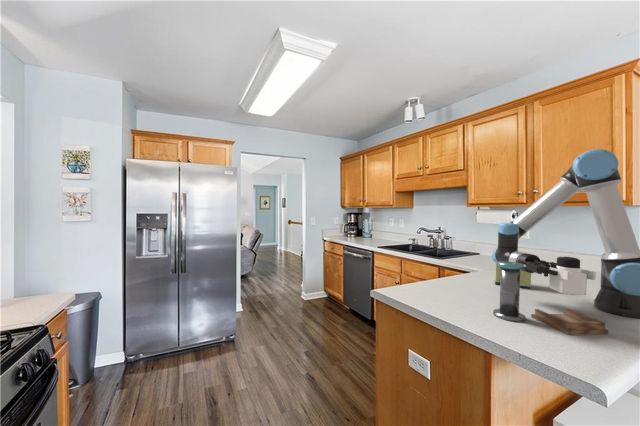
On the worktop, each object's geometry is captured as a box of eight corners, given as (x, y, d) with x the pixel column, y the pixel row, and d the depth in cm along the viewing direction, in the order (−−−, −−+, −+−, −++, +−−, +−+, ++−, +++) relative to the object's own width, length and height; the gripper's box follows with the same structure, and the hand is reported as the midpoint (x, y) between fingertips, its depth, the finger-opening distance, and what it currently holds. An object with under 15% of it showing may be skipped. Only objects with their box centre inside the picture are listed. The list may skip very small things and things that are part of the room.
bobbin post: (511, 311, 107) (512, 260, 107) (532, 321, 97) (534, 266, 97) (487, 311, 106) (488, 260, 106) (506, 322, 96) (508, 266, 96)
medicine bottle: (586, 295, 91) (588, 259, 90) (561, 293, 92) (563, 258, 92) (571, 289, 98) (573, 256, 97) (548, 287, 99) (550, 254, 99)
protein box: (531, 289, 138) (532, 259, 137) (494, 284, 146) (495, 256, 146) (528, 285, 147) (529, 256, 146) (494, 280, 155) (495, 253, 155)
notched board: (566, 316, 102) (566, 307, 102) (608, 334, 88) (608, 323, 88) (531, 317, 101) (531, 307, 101) (568, 334, 87) (568, 323, 87)
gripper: (548, 271, 113) (610, 287, 91) (500, 270, 112) (551, 287, 89) (549, 253, 113) (611, 265, 91) (501, 252, 112) (552, 264, 89)
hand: (581, 276), depth 90 cm, fingers closed on medicine bottle, 9 cm apart
